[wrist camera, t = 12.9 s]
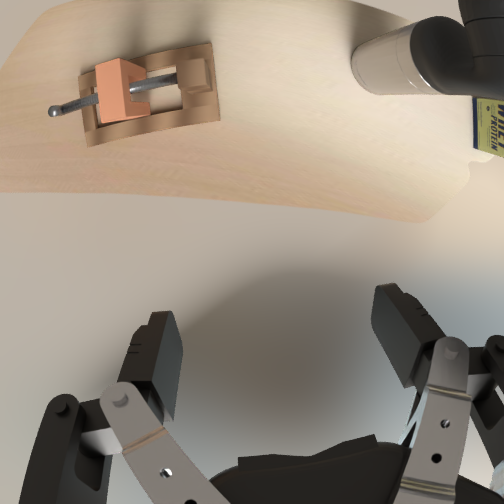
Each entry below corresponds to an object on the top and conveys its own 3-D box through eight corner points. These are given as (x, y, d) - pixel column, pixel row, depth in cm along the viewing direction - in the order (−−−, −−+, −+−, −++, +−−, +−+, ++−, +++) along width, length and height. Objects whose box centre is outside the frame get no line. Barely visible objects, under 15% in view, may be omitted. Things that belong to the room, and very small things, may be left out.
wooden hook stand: (211, 44, 35) (204, 21, 25) (220, 120, 41) (215, 122, 30) (81, 76, 35) (39, 71, 24) (90, 146, 41) (50, 160, 30)
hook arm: (180, 72, 29) (176, 69, 27) (181, 83, 30) (177, 81, 27) (59, 106, 29) (47, 107, 27) (60, 116, 30) (48, 118, 27)
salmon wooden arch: (125, 73, 34) (95, 65, 25) (145, 68, 34) (119, 57, 25) (131, 119, 37) (101, 123, 28) (150, 114, 37) (125, 116, 28)
